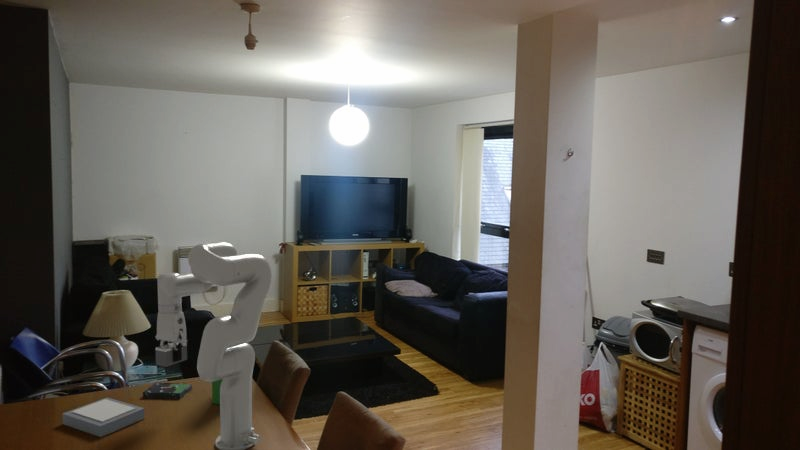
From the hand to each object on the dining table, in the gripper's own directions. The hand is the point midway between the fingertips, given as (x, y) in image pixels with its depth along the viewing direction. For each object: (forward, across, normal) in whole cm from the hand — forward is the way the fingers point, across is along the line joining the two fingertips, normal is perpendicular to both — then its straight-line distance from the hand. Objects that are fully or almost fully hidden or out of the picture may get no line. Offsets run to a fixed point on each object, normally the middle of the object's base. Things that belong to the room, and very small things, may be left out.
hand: (171, 359), depth 192 cm
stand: (+19, +15, +16) cm, 29 cm away
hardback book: (+20, -5, -22) cm, 30 cm away
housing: (+1, 0, 0) cm, 1 cm away
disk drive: (+20, +17, -12) cm, 28 cm away
